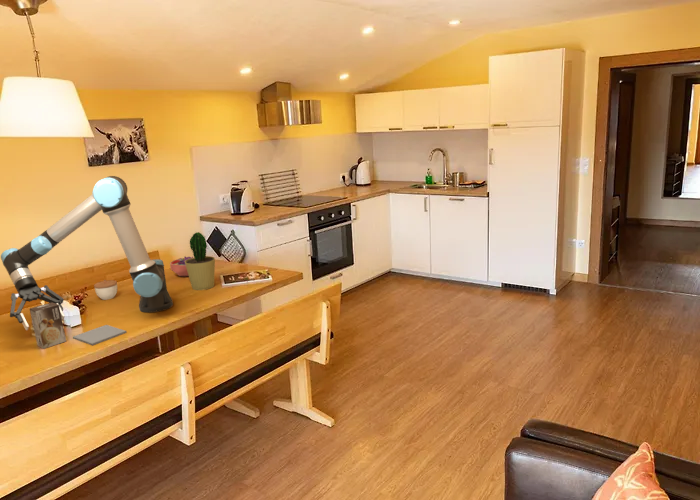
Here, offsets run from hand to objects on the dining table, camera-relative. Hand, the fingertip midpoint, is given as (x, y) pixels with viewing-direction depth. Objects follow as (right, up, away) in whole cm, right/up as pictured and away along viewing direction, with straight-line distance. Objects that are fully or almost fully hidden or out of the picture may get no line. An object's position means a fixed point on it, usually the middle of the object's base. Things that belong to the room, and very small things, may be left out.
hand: (45, 323), depth 219 cm
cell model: (+29, +15, +94) cm, 99 cm away
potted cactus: (+45, +10, +69) cm, 83 cm away
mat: (+18, -6, +8) cm, 21 cm away
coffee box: (+1, -9, +2) cm, 9 cm away
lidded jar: (-1, +5, +59) cm, 60 cm away
